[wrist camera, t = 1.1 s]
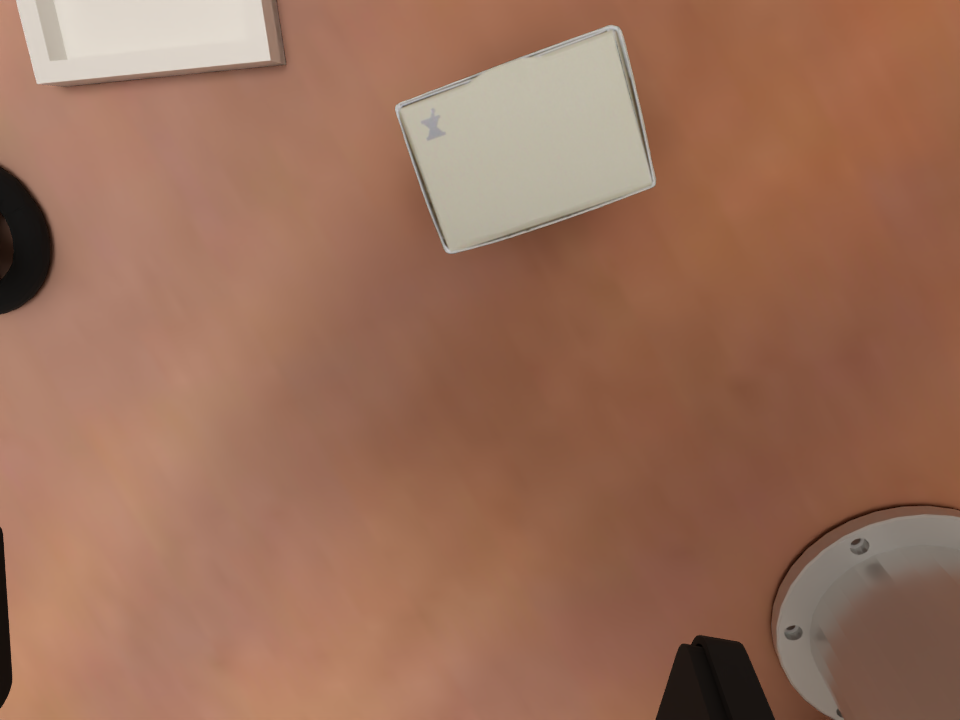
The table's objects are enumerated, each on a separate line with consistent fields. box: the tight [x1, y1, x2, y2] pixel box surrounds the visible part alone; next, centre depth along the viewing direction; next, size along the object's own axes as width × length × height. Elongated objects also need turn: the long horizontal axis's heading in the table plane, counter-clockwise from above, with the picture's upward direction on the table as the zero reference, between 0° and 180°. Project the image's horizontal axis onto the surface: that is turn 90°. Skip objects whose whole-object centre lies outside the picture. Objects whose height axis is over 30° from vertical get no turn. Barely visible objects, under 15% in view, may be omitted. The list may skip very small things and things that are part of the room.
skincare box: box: [395, 25, 656, 254], centre depth 24 cm, size 6×4×12 cm
